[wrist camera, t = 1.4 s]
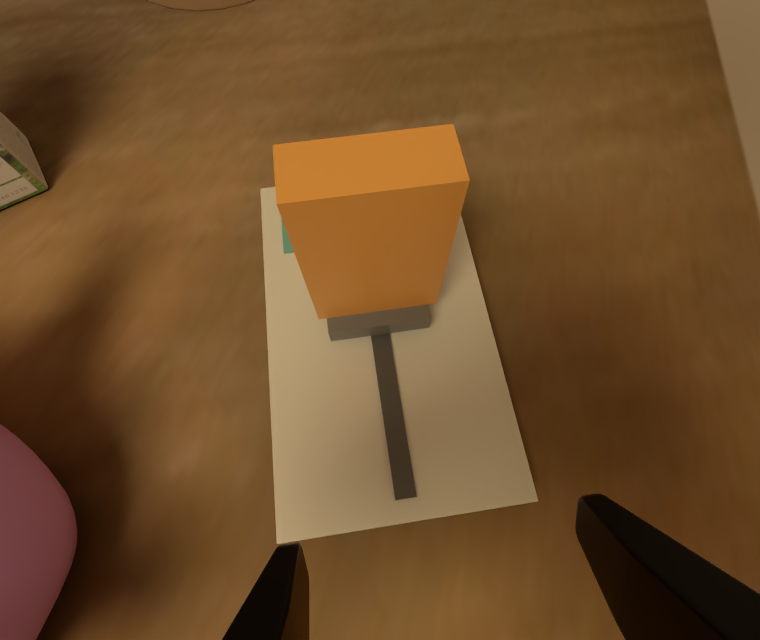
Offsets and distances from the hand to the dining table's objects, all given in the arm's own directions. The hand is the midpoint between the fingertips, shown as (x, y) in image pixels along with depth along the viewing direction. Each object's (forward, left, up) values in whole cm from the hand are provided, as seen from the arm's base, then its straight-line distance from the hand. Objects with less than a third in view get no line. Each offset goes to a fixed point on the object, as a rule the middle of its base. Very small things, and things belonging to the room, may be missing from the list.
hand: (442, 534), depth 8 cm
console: (+7, +7, -14) cm, 17 cm away
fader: (+8, +8, -12) cm, 16 cm away
